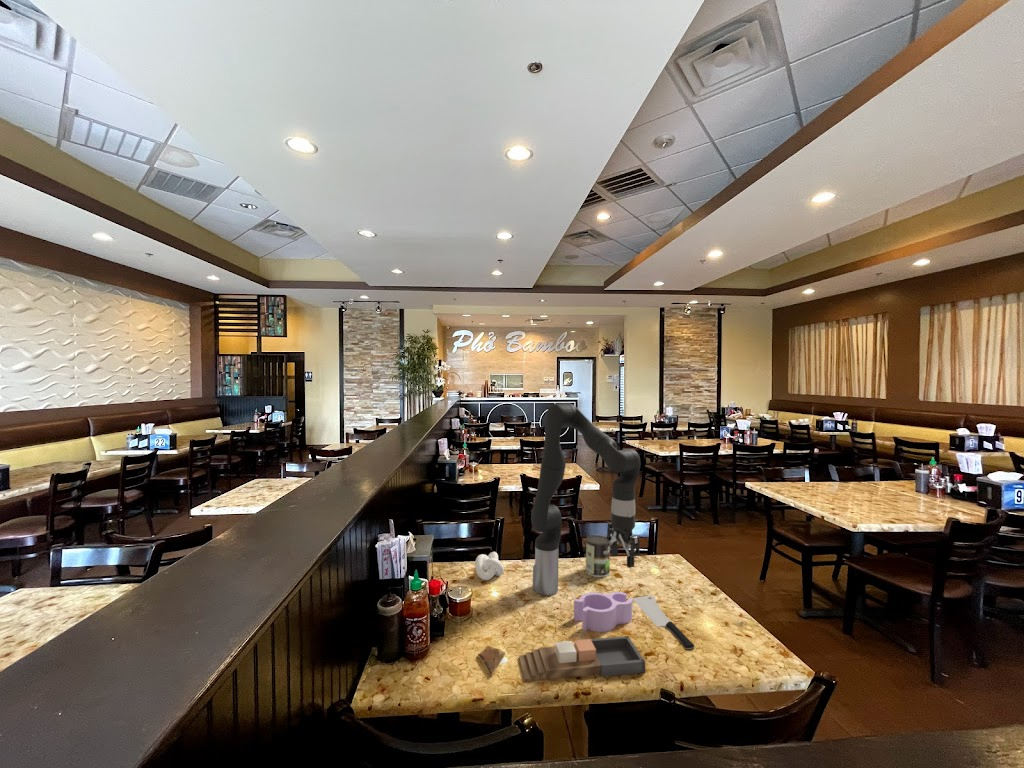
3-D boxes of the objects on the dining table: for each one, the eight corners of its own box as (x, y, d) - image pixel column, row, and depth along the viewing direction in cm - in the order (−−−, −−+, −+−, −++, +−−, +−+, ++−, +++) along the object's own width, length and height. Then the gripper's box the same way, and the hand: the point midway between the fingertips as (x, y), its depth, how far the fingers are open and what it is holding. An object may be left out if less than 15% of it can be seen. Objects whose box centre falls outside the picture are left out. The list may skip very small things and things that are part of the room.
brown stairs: (524, 681, 119) (524, 674, 119) (519, 657, 129) (519, 650, 129) (545, 679, 120) (546, 672, 120) (538, 655, 130) (538, 649, 130)
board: (545, 679, 120) (546, 670, 120) (538, 656, 130) (538, 647, 130) (600, 674, 122) (600, 665, 122) (589, 651, 132) (589, 643, 132)
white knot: (474, 569, 186) (474, 549, 186) (502, 568, 187) (502, 548, 187) (475, 582, 175) (475, 560, 175) (504, 581, 176) (504, 559, 176)
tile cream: (559, 663, 123) (559, 653, 123) (555, 652, 128) (555, 642, 128) (576, 661, 124) (576, 651, 124) (571, 650, 129) (571, 640, 129)
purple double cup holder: (619, 606, 158) (619, 587, 158) (639, 625, 146) (639, 605, 146) (570, 615, 152) (570, 596, 152) (586, 635, 140) (587, 615, 140)
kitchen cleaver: (627, 597, 163) (651, 592, 165) (627, 601, 163) (652, 596, 165) (669, 650, 132) (699, 643, 134) (670, 655, 133) (699, 649, 134)
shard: (491, 680, 120) (491, 673, 120) (467, 672, 123) (467, 666, 123) (506, 656, 130) (506, 650, 130) (483, 650, 133) (484, 644, 133)
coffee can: (613, 570, 187) (613, 538, 186) (604, 579, 178) (605, 546, 178) (591, 564, 192) (591, 533, 192) (581, 573, 184) (582, 540, 183)
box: (601, 676, 121) (601, 665, 121) (588, 649, 133) (588, 639, 133) (645, 672, 123) (645, 661, 123) (627, 646, 135) (628, 636, 135)
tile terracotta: (579, 661, 124) (579, 651, 124) (574, 650, 129) (574, 640, 129) (595, 659, 125) (596, 649, 125) (590, 648, 130) (590, 639, 129)
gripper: (601, 506, 143) (600, 554, 144) (626, 520, 130) (625, 573, 130) (620, 503, 146) (619, 550, 146) (647, 517, 132) (646, 569, 133)
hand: (622, 561), depth 138 cm, fingers open, 8 cm apart
